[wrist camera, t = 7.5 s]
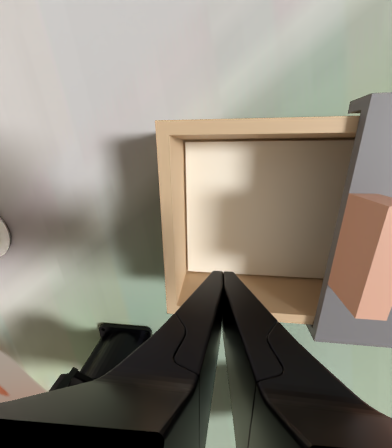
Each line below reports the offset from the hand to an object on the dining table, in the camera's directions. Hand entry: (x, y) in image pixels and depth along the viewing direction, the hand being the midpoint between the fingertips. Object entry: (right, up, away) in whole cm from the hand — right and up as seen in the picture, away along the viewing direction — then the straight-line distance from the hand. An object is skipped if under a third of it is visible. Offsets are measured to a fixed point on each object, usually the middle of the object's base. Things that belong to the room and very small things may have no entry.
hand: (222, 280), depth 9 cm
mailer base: (+7, +3, +10) cm, 13 cm away
